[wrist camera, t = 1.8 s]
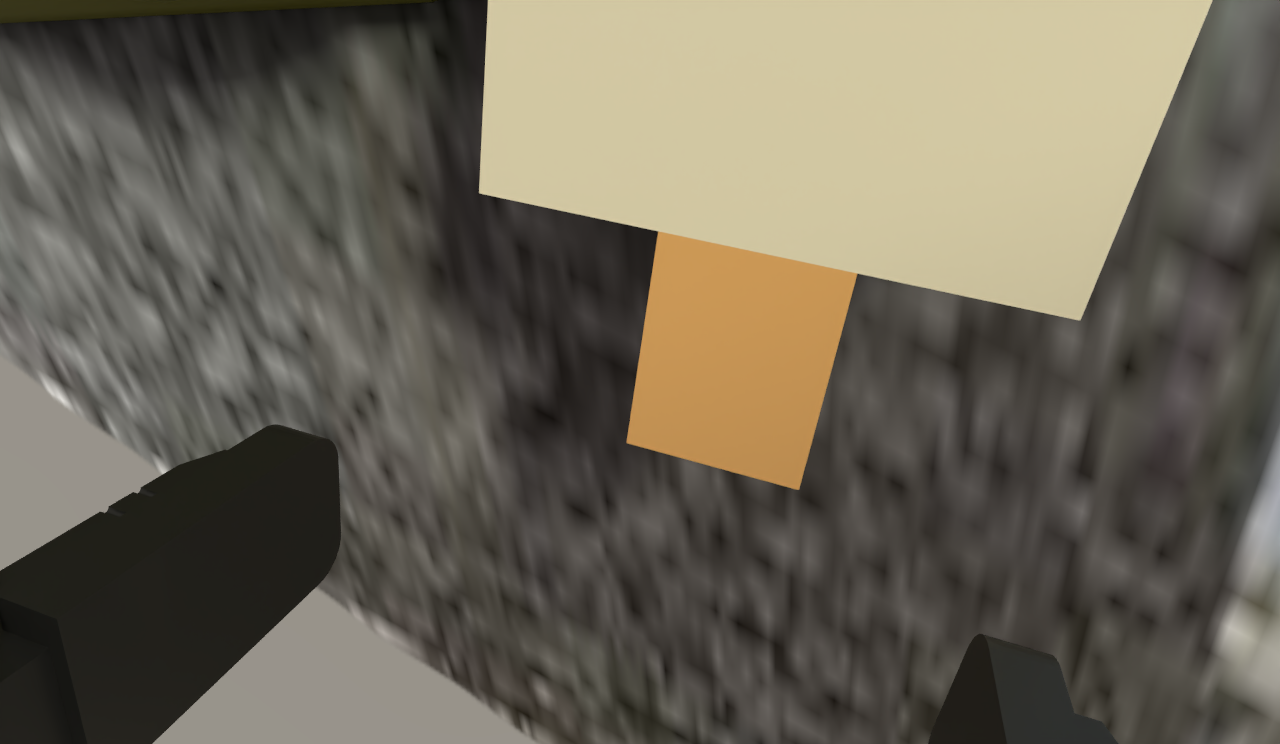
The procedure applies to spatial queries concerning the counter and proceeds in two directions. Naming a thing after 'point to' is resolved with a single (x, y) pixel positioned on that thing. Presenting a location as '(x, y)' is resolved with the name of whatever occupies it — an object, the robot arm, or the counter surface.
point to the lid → (824, 172)
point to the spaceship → (156, 7)
